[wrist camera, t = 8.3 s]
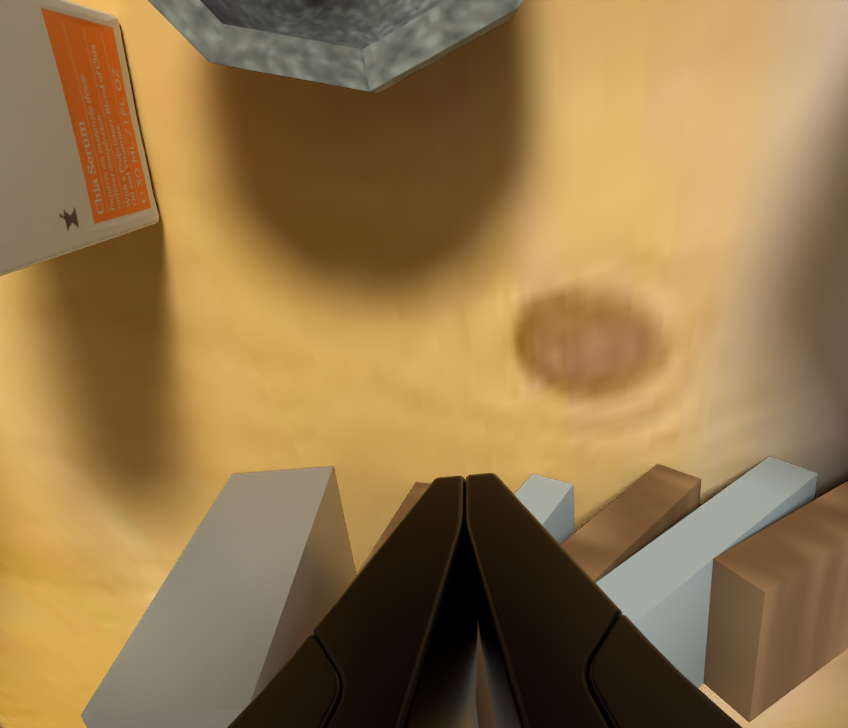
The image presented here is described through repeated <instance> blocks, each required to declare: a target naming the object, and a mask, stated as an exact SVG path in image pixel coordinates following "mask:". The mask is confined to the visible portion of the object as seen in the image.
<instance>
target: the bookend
mask: <svg viewBox="0 0 848 728" xmlns="http://www.w3.org/2000/svg"><path fill="white" fill-rule="evenodd" d="M355 577H356V572H355V568H354V563H353V558H352V553H351V549H350V544H349V539H348V534H347V529H346V525H345V520H344V515H343V510H342V506H341V501H340V496H339V491H338V486H337V482H336V477H335V472H334V467H333V466H329V467H316V468H303V469H290V470H277V471H265V472H252V473H239V474H231V476H230V478H229V479H228V481H227V482H226V484H225V486H224V487H223V489H222V490H221V492H220V494H219V495H218V497H217V498H216V500H215V502H214V503H213V505H212V506H211V508H210V510H209V511H208V513H207V514H206V516H205V518H204V519H203V521H202V522H201V524H200V526H199V527H198V529H197V530H196V532H195V534H194V535H193V537H192V538H191V540H190V542H189V543H188V545H187V546H186V548H185V550H184V551H183V553H182V554H181V556H180V558H179V559H178V561H177V562H176V564H175V565H174V567H173V569H172V570H171V572H170V573H169V575H168V577H167V578H166V580H165V581H164V583H163V585H162V586H161V588H160V589H159V591H158V593H157V594H156V596H155V597H154V599H153V601H152V602H151V604H150V605H149V607H148V609H147V610H146V612H145V613H144V615H143V617H142V618H141V620H140V621H139V623H138V625H137V626H136V628H135V629H134V631H133V633H132V634H131V636H130V637H129V639H128V641H127V642H126V644H125V645H124V647H123V649H122V650H121V652H120V653H119V655H118V657H117V658H116V660H115V661H114V663H113V665H112V666H111V668H110V669H109V671H108V673H107V674H106V676H105V677H104V679H103V681H102V682H101V684H100V685H99V687H98V689H97V690H96V692H95V693H94V695H93V697H92V698H91V700H90V701H89V703H88V705H87V706H86V708H85V709H84V711H83V713H82V714H81V717H82V719H83V721H84V723H85V725H86V727H87V728H227V727H228V726H229V725H230V724H231V723H232V722H233V721H234V719H235V718H236V717H237V716H238V715H239V714H240V713H241V712H242V711H243V710H244V709H245V708H246V707H247V706H248V705H249V704H250V703H251V701H252V700H253V699H254V698H255V697H256V696H257V695H258V694H259V693H260V692H261V691H262V690H263V688H264V687H265V686H266V685H267V684H268V683H269V681H270V680H271V679H272V678H273V677H274V676H275V674H276V673H277V672H278V671H279V670H280V669H281V667H282V666H283V665H284V664H285V663H286V662H287V660H288V659H289V658H290V657H291V656H292V654H293V653H294V652H295V651H296V649H297V648H298V647H299V646H300V645H301V643H302V642H303V641H304V640H305V638H306V637H307V636H308V635H310V634H312V631H313V629H314V628H315V626H316V625H317V624H318V623H319V621H320V620H321V619H322V618H323V617H324V615H325V614H326V613H327V612H328V610H329V609H330V608H331V607H332V605H333V604H334V603H335V602H336V600H337V599H338V598H339V597H340V596H341V594H342V593H343V592H344V591H345V589H346V588H347V587H348V586H349V584H350V583H351V582H352V581H353V579H354V578H355ZM312 635H313V634H312Z"/></svg>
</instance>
